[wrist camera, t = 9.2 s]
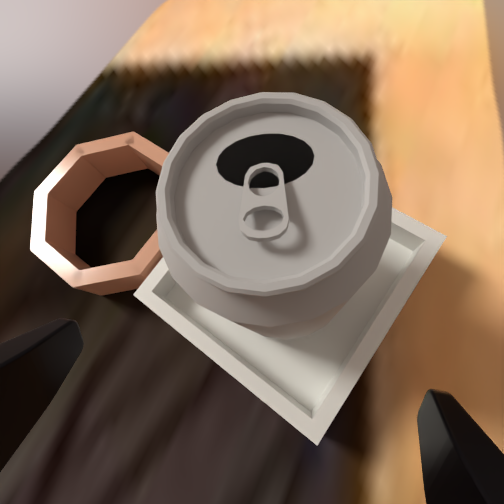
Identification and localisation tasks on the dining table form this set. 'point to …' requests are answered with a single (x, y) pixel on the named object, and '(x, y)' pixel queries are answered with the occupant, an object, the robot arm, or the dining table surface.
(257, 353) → the tray
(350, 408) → the dining table surface
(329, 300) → the can
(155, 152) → the collar
